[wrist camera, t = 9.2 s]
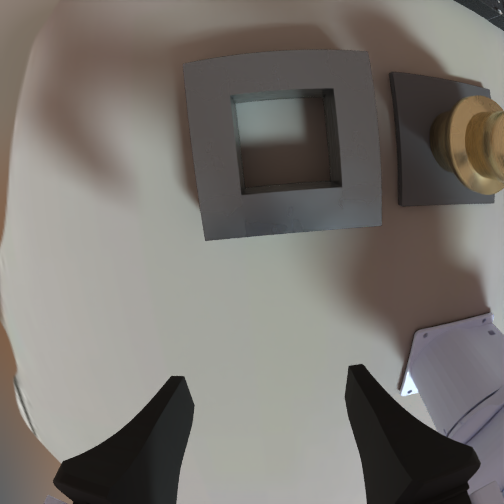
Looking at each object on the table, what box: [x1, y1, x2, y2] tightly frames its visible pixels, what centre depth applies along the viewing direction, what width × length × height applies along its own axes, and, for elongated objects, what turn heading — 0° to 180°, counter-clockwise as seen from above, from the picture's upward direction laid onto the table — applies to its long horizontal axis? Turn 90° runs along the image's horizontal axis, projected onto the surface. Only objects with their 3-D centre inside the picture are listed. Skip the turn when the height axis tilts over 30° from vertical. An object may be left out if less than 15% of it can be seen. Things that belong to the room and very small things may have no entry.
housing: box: [183, 50, 382, 241], centre depth 16 cm, size 10×10×3 cm
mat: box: [389, 72, 495, 206], centre depth 16 cm, size 9×9×1 cm
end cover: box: [429, 95, 504, 195], centre depth 12 cm, size 6×6×8 cm
